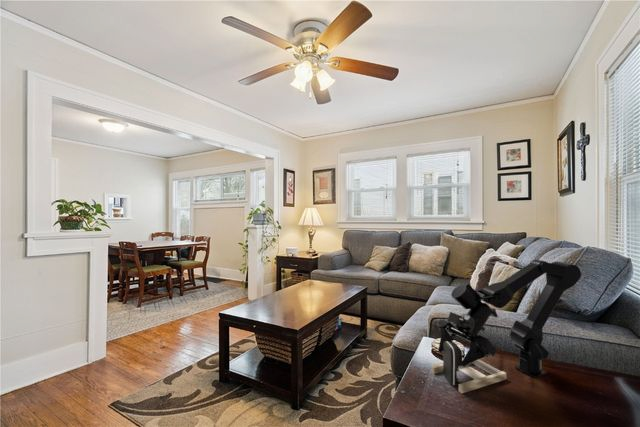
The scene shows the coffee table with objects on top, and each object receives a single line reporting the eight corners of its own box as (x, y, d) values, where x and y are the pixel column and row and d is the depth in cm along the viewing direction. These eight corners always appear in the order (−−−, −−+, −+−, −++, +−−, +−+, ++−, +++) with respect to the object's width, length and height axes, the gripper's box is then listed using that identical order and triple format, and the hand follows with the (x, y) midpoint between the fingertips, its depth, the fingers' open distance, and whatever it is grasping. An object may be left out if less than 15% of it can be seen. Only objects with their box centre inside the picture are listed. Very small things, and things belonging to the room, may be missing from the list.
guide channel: (472, 361, 105) (472, 355, 105) (506, 379, 94) (506, 373, 94) (431, 372, 98) (431, 366, 98) (461, 393, 87) (461, 386, 87)
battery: (463, 386, 90) (463, 349, 90) (451, 386, 90) (451, 349, 90) (454, 374, 97) (454, 339, 97) (442, 373, 97) (442, 339, 97)
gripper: (441, 295, 104) (415, 331, 100) (489, 312, 86) (461, 357, 82) (457, 315, 107) (433, 351, 103) (507, 335, 89) (481, 379, 85)
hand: (450, 358), depth 93 cm, fingers open, 9 cm apart
